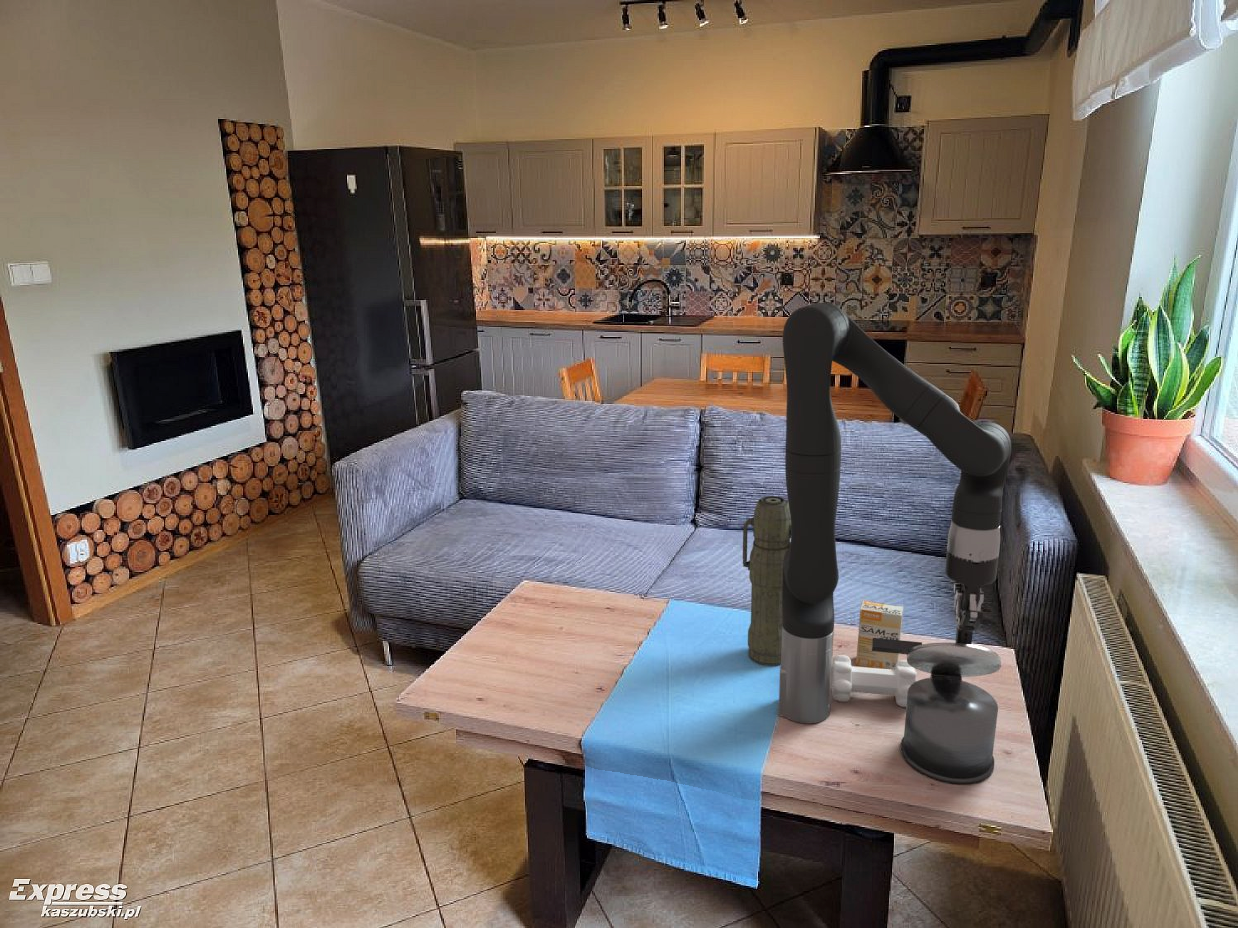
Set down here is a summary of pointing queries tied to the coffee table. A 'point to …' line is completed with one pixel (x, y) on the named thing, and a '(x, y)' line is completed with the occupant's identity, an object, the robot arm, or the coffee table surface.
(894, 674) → the white bone
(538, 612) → the coffee table surface
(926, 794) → the coffee table surface
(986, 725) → the cooker pot
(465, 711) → the coffee table surface
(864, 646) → the supplement box
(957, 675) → the cooker lid
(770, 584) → the thermos
